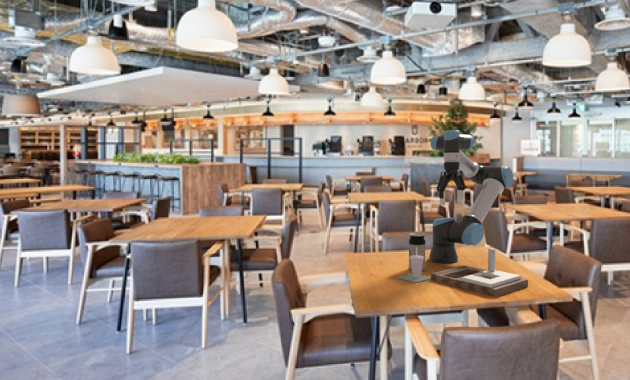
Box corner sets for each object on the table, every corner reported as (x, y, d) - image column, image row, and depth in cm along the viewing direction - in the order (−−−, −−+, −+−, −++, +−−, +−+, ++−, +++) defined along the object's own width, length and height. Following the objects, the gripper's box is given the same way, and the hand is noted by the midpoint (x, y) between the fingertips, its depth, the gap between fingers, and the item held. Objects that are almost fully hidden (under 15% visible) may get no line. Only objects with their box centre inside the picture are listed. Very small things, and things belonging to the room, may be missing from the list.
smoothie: (421, 275, 220) (421, 245, 219) (425, 278, 214) (425, 248, 213) (408, 275, 220) (408, 246, 219) (411, 278, 214) (411, 248, 213)
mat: (397, 278, 218) (397, 276, 217) (413, 274, 224) (413, 273, 224) (415, 283, 209) (415, 281, 209) (431, 279, 215) (431, 277, 215)
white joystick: (462, 280, 200) (462, 254, 200) (491, 272, 213) (492, 247, 213) (491, 287, 189) (491, 260, 188) (520, 278, 202) (521, 252, 201)
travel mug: (425, 268, 236) (425, 233, 235) (424, 271, 229) (425, 235, 227) (409, 267, 238) (409, 232, 237) (408, 271, 231) (408, 235, 229)
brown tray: (430, 279, 214) (430, 273, 214) (463, 271, 228) (463, 265, 228) (495, 296, 187) (495, 289, 187) (527, 286, 202) (528, 279, 202)
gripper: (441, 162, 221) (441, 206, 222) (473, 161, 235) (472, 202, 237) (429, 161, 227) (428, 205, 228) (460, 161, 241) (460, 201, 243)
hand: (451, 204), depth 233 cm, fingers open, 13 cm apart
